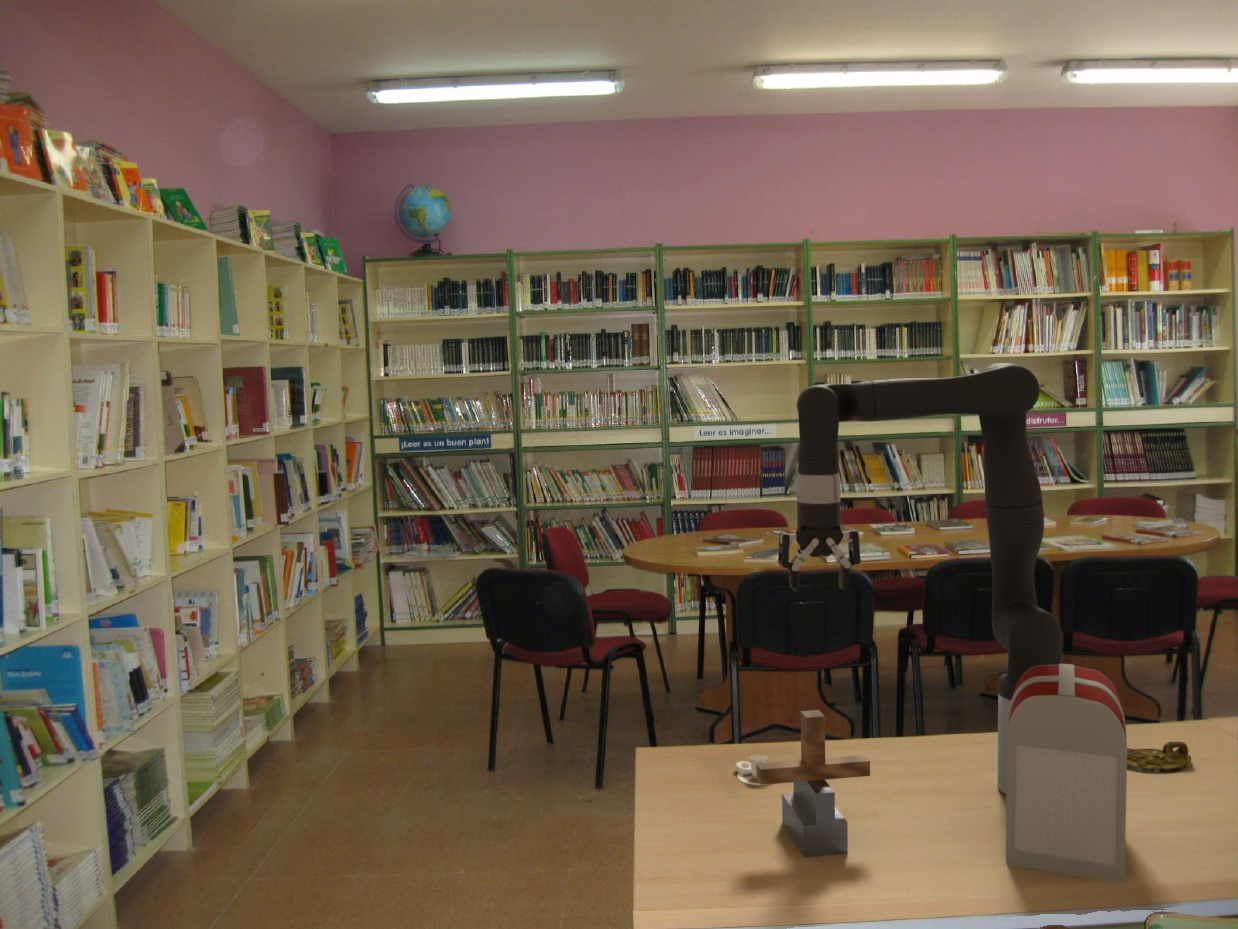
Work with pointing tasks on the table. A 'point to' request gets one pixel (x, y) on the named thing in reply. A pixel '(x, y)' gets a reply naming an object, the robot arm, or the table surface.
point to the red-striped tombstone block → (1066, 773)
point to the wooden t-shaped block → (812, 758)
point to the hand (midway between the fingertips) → (819, 589)
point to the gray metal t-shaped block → (814, 819)
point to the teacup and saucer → (749, 768)
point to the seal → (1159, 758)
